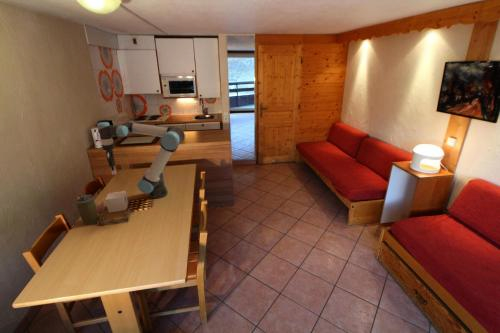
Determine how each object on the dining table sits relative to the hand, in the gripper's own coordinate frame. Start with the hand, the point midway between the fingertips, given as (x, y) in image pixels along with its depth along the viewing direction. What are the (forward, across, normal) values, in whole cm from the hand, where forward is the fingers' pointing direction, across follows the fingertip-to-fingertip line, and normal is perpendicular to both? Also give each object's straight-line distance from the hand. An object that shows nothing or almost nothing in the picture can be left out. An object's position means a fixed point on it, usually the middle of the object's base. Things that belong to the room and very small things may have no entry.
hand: (114, 173), depth 189 cm
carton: (+24, +10, 0) cm, 26 cm away
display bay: (+24, +25, 0) cm, 34 cm away
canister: (+24, +23, -15) cm, 37 cm away
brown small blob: (+24, +9, -12) cm, 29 cm away
